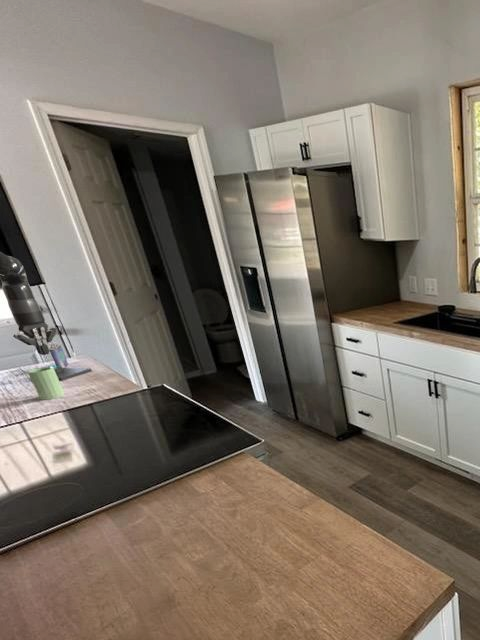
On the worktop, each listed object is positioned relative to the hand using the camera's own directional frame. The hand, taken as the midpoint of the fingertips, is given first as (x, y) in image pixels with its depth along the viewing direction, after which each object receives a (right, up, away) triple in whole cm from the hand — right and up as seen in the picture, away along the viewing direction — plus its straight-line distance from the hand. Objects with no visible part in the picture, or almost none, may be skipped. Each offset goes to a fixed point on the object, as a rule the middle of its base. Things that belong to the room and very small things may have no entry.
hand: (44, 354), depth 162 cm
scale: (+4, -8, +3) cm, 10 cm away
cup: (+23, -16, -18) cm, 33 cm away
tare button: (0, -6, +2) cm, 6 cm away
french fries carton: (-8, -5, +14) cm, 16 cm away
